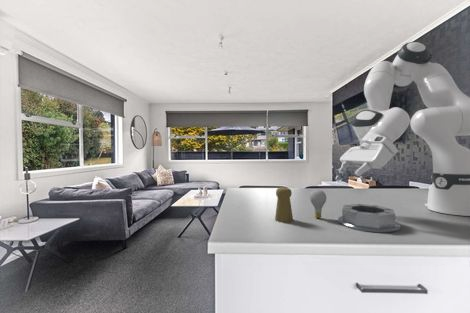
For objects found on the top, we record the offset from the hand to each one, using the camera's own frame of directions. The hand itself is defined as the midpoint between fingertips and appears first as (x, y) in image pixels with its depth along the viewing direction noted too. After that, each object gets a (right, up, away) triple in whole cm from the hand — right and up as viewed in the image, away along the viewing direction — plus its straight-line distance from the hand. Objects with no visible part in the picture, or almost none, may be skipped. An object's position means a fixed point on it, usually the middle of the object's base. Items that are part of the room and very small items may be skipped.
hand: (348, 173), depth 82 cm
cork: (-23, -16, -3) cm, 28 cm away
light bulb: (-11, -16, -1) cm, 19 cm away
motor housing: (+2, -15, -8) cm, 17 cm away
